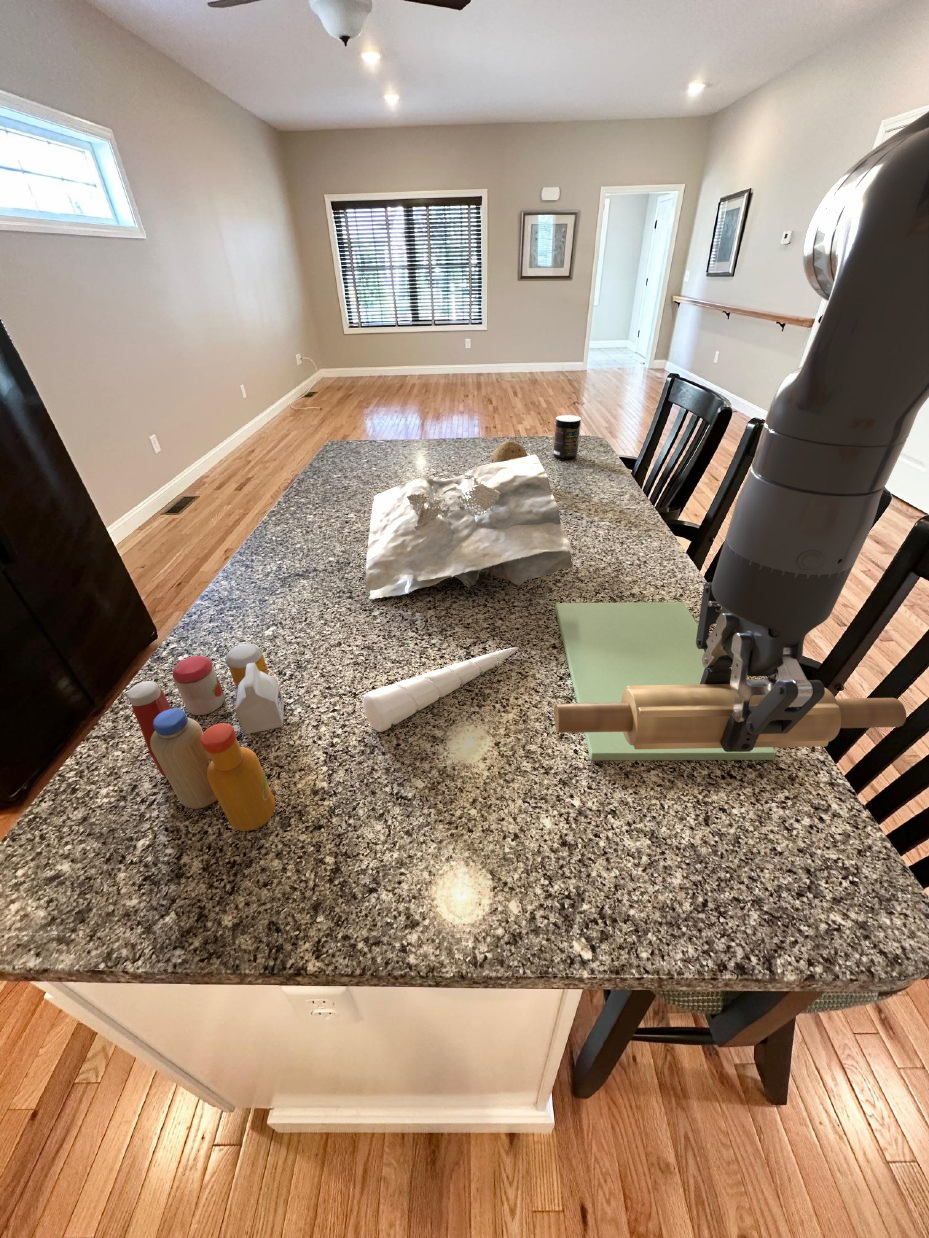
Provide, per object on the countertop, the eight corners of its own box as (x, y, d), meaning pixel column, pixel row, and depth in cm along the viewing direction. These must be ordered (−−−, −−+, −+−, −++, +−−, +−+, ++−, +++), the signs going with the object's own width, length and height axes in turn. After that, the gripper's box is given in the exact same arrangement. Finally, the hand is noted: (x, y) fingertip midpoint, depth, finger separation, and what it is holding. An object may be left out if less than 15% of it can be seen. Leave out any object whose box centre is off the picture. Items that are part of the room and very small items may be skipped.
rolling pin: (866, 718, 46) (882, 674, 44) (906, 752, 41) (926, 704, 39) (551, 724, 46) (553, 680, 44) (559, 758, 42) (562, 711, 40)
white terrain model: (349, 566, 79) (364, 475, 103) (380, 639, 90) (387, 541, 113) (575, 519, 76) (537, 437, 100) (579, 600, 87) (544, 508, 111)
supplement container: (582, 457, 142) (586, 418, 136) (565, 462, 139) (569, 423, 133) (564, 452, 147) (567, 413, 141) (547, 457, 143) (550, 418, 137)
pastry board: (773, 760, 56) (776, 752, 56) (590, 760, 57) (591, 753, 56) (681, 608, 81) (683, 601, 80) (554, 609, 81) (555, 603, 81)
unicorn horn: (536, 664, 70) (538, 636, 68) (380, 741, 60) (375, 712, 57) (514, 646, 74) (515, 619, 71) (363, 717, 63) (357, 688, 60)
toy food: (280, 827, 51) (248, 745, 44) (140, 860, 48) (83, 779, 41) (285, 661, 72) (264, 588, 65) (188, 678, 70) (155, 604, 63)
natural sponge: (483, 483, 127) (483, 443, 122) (501, 473, 133) (502, 433, 128) (515, 490, 123) (517, 448, 117) (532, 479, 129) (535, 438, 123)
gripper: (928, 600, 28) (812, 796, 37) (790, 499, 39) (729, 668, 49) (788, 603, 28) (708, 797, 38) (692, 501, 39) (650, 669, 49)
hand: (720, 723), depth 43 cm, fingers closed on rolling pin, 4 cm apart
